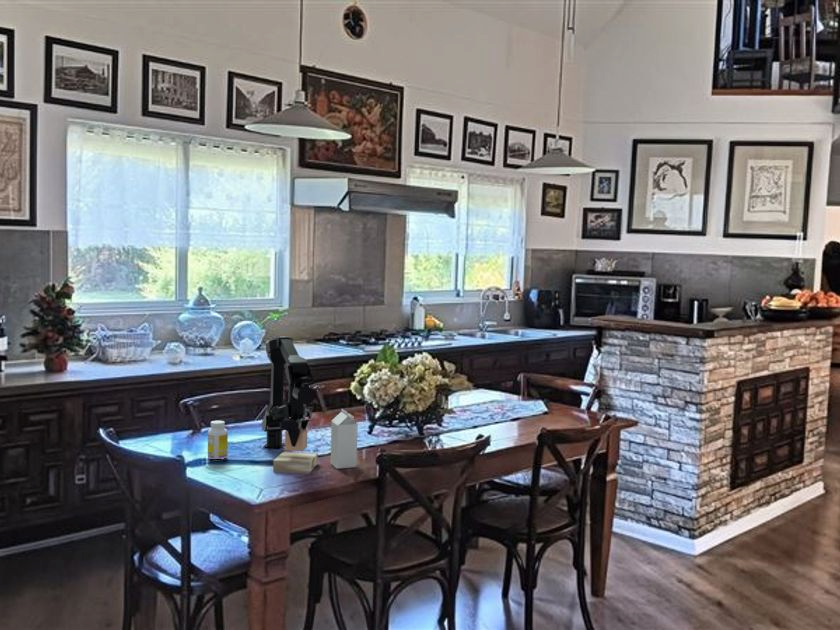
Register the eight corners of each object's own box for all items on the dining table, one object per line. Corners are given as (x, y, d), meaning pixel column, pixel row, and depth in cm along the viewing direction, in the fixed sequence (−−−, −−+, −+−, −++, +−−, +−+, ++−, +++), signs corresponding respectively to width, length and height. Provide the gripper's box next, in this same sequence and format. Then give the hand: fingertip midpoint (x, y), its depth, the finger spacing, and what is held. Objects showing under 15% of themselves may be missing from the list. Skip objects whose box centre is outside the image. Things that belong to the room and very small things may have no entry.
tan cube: (290, 445, 276) (290, 428, 276) (307, 446, 276) (307, 429, 275) (284, 450, 271) (285, 432, 270) (302, 451, 270) (302, 433, 269)
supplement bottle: (229, 455, 285) (229, 419, 283) (225, 461, 278) (225, 424, 277) (209, 455, 284) (210, 419, 283) (205, 460, 278) (205, 423, 277)
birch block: (283, 462, 280) (283, 451, 280) (317, 464, 279) (317, 453, 279) (273, 472, 269) (273, 460, 268) (308, 475, 267) (308, 463, 267)
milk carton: (336, 469, 273) (338, 413, 271) (330, 463, 280) (331, 409, 278) (356, 467, 276) (358, 412, 274) (350, 461, 282) (351, 408, 281)
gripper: (281, 391, 282) (281, 435, 283) (265, 402, 263) (264, 449, 265) (313, 393, 280) (312, 437, 282) (298, 404, 262) (297, 451, 263)
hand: (296, 444), depth 273 cm, fingers closed on tan cube, 6 cm apart
